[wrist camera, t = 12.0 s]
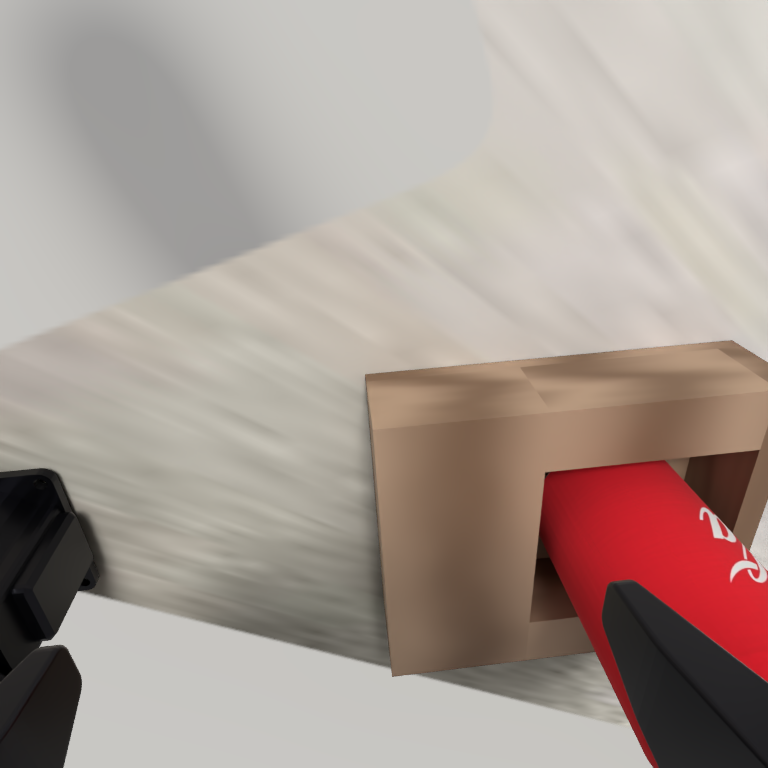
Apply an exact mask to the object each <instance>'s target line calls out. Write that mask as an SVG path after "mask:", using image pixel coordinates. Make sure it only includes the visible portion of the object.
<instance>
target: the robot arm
mask: <svg viewBox="0 0 768 768" xmlns="http://www.w3.org/2000/svg"><path fill="white" fill-rule="evenodd" d="M39 480H43V481H45V482H46V483H42V482H40V481H39ZM85 578H86V579H85ZM98 578H99V573H98V571H97V569H96V566H95V564H94V562H93V554H92V552H91V550H90V547H89V545H88V543H87V540H86V538H85V535H84V533H83V531H82V528H81V526H80V524H79V521H78V519H77V517H76V516H75V515H74V514H73V512H72V510H71V508H70V505H69V503H68V501H67V498H66V496H65V494H64V491H63V489H62V486H61V484H60V482H59V479H58V477H57V476H56V474H55V473H54V472H52V471H51V470H48V469H43V468H39V469H29V470H19V471H9V472H0V768H63V767H64V763H65V758H66V754H67V750H68V745H69V741H70V737H71V732H72V728H73V723H74V719H75V715H76V711H77V706H78V702H79V698H80V694H81V687H82V679H81V675H80V673H79V671H78V669H77V667H76V665H75V663H74V661H73V659H72V657H71V655H70V653H69V651H68V649H67V648H66V647H65V646H63V645H54V646H45V647H40V645H41V643H42V641H48V640H51V639H52V638H53V637H54V636H55V634H56V633H57V632H58V630H59V627H60V625H61V623H62V621H63V619H64V617H65V615H66V613H67V611H68V609H69V607H70V605H71V603H72V601H73V599H74V597H75V595H76V593H77V591H83V590H89V589H92V588H94V587H95V585H96V583H97V581H98ZM602 624H603V628H604V631H605V634H606V636H607V639H608V642H609V645H610V648H611V650H612V653H613V656H614V659H615V662H616V664H617V667H618V670H619V673H620V676H621V678H622V681H623V684H624V687H625V690H626V692H627V695H628V698H629V701H630V704H631V706H632V709H633V712H634V714H635V717H636V719H637V722H638V724H639V726H640V728H641V731H642V733H643V735H644V737H645V740H646V742H647V744H648V746H649V748H650V750H651V752H652V754H653V756H654V759H655V761H656V763H657V765H658V767H659V768H768V682H767V681H766V680H764V679H763V678H762V677H760V676H759V675H758V674H756V673H755V672H754V671H753V670H751V669H750V668H749V667H747V666H746V665H745V664H743V663H742V662H741V661H739V660H738V659H737V658H736V657H734V656H733V655H732V654H730V653H729V652H728V651H726V650H725V649H724V648H723V647H721V646H720V645H719V644H717V643H716V642H715V641H713V640H712V639H711V638H710V637H708V636H707V635H706V634H704V633H703V632H702V631H700V630H699V629H698V628H696V627H695V626H694V625H693V624H691V623H690V622H689V621H687V620H686V619H685V618H683V617H682V616H681V615H680V614H678V613H677V612H676V611H674V610H673V609H672V608H670V607H669V606H668V605H667V604H665V603H664V602H663V601H661V600H660V599H659V598H657V597H656V596H655V595H653V594H652V593H651V592H650V591H648V590H647V589H646V588H644V587H643V586H642V585H640V584H639V583H638V582H636V581H634V580H630V579H627V580H619V581H612V582H610V583H609V584H608V585H607V588H606V593H605V598H604V603H603V608H602ZM39 647H40V648H39Z"/></svg>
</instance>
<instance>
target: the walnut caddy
mask: <svg viewBox="0 0 768 768" xmlns="http://www.w3.org/2000/svg"><path fill="white" fill-rule="evenodd" d="M365 378H366V390H367V403H368V415H369V427H370V439H371V451H372V464H373V476H374V488H375V500H376V512H377V525H378V537H379V549H380V561H381V573H382V586H383V598H384V608H385V617H386V626H387V635H388V643H389V652H390V661H391V670H392V677H394V676H402V675H410V674H418V673H426V672H435V671H443V670H451V669H459V668H467V667H475V666H483V665H491V664H499V663H507V662H516V661H524V660H532V659H540V658H548V657H556V656H564V655H572V654H580V653H589V652H595V650H594V648H593V646H592V644H591V642H590V640H589V638H588V635H587V633H586V631H585V629H584V627H583V625H582V623H581V621H580V619H579V617H578V615H577V613H576V611H575V609H574V606H573V604H572V602H571V600H570V598H569V596H568V594H567V592H566V590H565V588H564V586H563V584H562V582H561V580H560V577H559V575H558V573H557V571H556V569H555V567H554V565H553V563H552V561H551V559H550V557H549V555H548V553H547V551H546V548H545V546H544V544H543V542H542V540H541V538H540V536H539V526H540V517H541V507H542V497H543V488H544V478H545V477H546V476H547V475H548V473H549V472H553V471H562V470H572V469H581V468H591V467H600V466H610V465H620V464H629V463H639V462H648V461H658V460H665V461H666V462H667V463H668V464H669V465H670V466H671V467H672V468H673V469H674V470H675V471H676V472H677V474H678V475H679V476H680V477H681V478H682V479H683V480H684V481H685V482H686V483H687V484H688V485H689V487H690V488H691V489H692V490H693V491H694V492H695V493H696V494H697V495H698V496H699V497H700V498H701V500H702V501H703V502H704V503H705V504H706V505H707V506H708V507H709V508H710V509H711V510H712V511H713V513H714V514H715V515H716V516H717V517H718V518H719V519H720V520H721V521H722V522H723V523H724V524H725V526H726V527H727V528H728V529H729V530H730V531H731V532H732V533H733V534H734V535H735V536H736V537H737V539H738V540H739V541H740V542H741V543H742V544H743V545H744V546H745V547H746V548H747V549H748V550H750V548H751V545H752V542H753V539H754V536H755V533H756V531H757V528H758V525H759V522H760V519H761V517H762V514H763V511H764V508H765V505H766V503H767V500H768V362H766V361H764V360H763V359H761V358H760V357H758V356H756V355H755V354H753V353H752V352H750V351H748V350H747V349H745V348H744V347H742V346H740V345H739V344H737V343H735V342H734V341H732V340H731V341H721V342H710V343H699V344H688V345H677V346H667V347H656V348H645V349H634V350H624V351H613V352H602V353H591V354H581V355H570V356H559V357H548V358H538V359H527V360H516V361H505V362H495V363H484V364H473V365H462V366H451V367H441V368H430V369H419V370H408V371H398V372H387V373H376V374H365Z"/></svg>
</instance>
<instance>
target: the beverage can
mask: <svg viewBox="0 0 768 768" xmlns="http://www.w3.org/2000/svg"><path fill="white" fill-rule="evenodd" d="M539 536H540V538H541V540H542V542H543V544H544V546H545V548H546V551H547V553H548V555H549V557H550V559H551V561H552V563H553V565H554V567H555V569H556V571H557V573H558V575H559V577H560V580H561V582H562V584H563V586H564V588H565V590H566V592H567V594H568V596H569V598H570V600H571V602H572V604H573V606H574V609H575V611H576V613H577V615H578V617H579V619H580V621H581V623H582V625H583V627H584V629H585V631H586V633H587V635H588V638H589V640H590V642H591V644H592V646H593V648H594V650H595V652H596V654H597V656H598V658H599V660H600V662H601V664H602V667H603V669H604V671H605V673H606V675H607V677H608V679H609V681H610V683H611V685H612V687H613V689H614V691H615V693H616V696H617V698H618V700H619V702H620V704H621V706H622V708H623V710H624V712H625V714H626V716H627V718H628V720H629V722H630V725H631V727H632V729H633V731H634V733H635V735H636V737H637V739H638V741H639V743H640V745H641V747H642V749H643V751H644V754H645V755H646V757H647V759H648V761H649V762H650V763H651V765H652V766H653V768H659V767H658V765H657V763H656V761H655V759H654V756H653V754H652V752H651V750H650V748H649V746H648V744H647V742H646V740H645V737H644V735H643V733H642V731H641V728H640V726H639V724H638V722H637V719H636V717H635V714H634V712H633V709H632V706H631V704H630V701H629V698H628V695H627V692H626V690H625V687H624V684H623V681H622V678H621V676H620V673H619V670H618V667H617V664H616V662H615V659H614V656H613V653H612V650H611V648H610V645H609V642H608V639H607V636H606V634H605V631H604V628H603V624H602V608H603V603H604V598H605V593H606V588H607V585H608V584H609V583H610V582H612V581H619V580H627V579H630V580H634V581H636V582H638V583H639V584H640V585H642V586H643V587H644V588H646V589H647V590H648V591H650V592H651V593H652V594H653V595H655V596H656V597H657V598H659V599H660V600H661V601H663V602H664V603H665V604H667V605H668V606H669V607H670V608H672V609H673V610H674V611H676V612H677V613H678V614H680V615H681V616H682V617H683V618H685V619H686V620H687V621H689V622H690V623H691V624H693V625H694V626H695V627H696V628H698V629H699V630H700V631H702V632H703V633H704V634H706V635H707V636H708V637H710V638H711V639H712V640H713V641H715V642H716V643H717V644H719V645H720V646H721V647H723V648H724V649H725V650H726V651H728V652H729V653H730V654H732V655H733V656H734V657H736V658H737V659H738V660H739V661H741V662H742V663H743V664H745V665H746V666H747V667H749V668H750V669H751V670H753V671H754V672H755V673H756V674H758V675H759V676H760V677H762V678H763V679H764V680H766V681H767V682H768V571H767V570H766V569H765V568H764V567H763V566H762V565H761V563H760V562H759V561H758V560H757V559H756V558H755V557H754V556H753V555H752V554H751V553H750V552H749V550H748V549H747V548H746V547H745V546H744V545H743V544H742V543H741V542H740V541H739V540H738V539H737V537H736V536H735V535H734V534H733V533H732V532H731V531H730V530H729V529H728V528H727V527H726V526H725V524H724V523H723V522H722V521H721V520H720V519H719V518H718V517H717V516H716V515H715V514H714V513H713V511H712V510H711V509H710V508H709V507H708V506H707V505H706V504H705V503H704V502H703V501H702V500H701V498H700V497H699V496H698V495H697V494H696V493H695V492H694V491H693V490H692V489H691V488H690V487H689V485H688V484H687V483H686V482H685V481H684V480H683V479H682V478H681V477H680V476H679V475H678V474H677V472H676V471H675V470H674V469H673V468H672V467H671V466H670V465H669V464H668V463H667V462H666V461H665V460H658V461H648V462H639V463H629V464H620V465H610V466H600V467H591V468H581V469H572V470H562V471H553V472H549V473H548V475H547V476H546V477H545V478H544V488H543V497H542V507H541V517H540V526H539Z"/></svg>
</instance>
